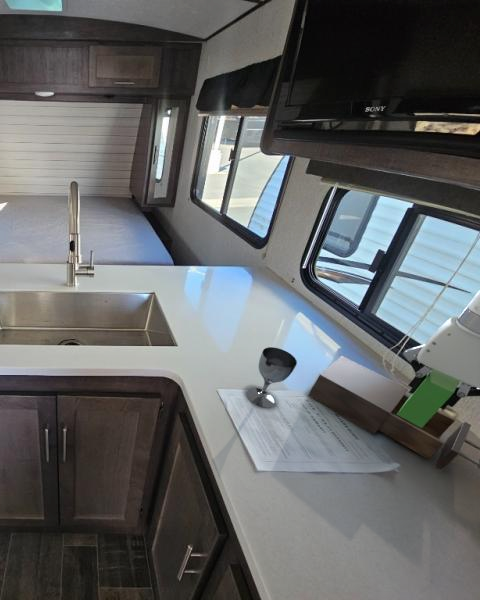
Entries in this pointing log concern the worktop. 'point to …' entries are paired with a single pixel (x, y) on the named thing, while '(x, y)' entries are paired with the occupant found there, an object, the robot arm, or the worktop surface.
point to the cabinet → (357, 393)
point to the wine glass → (271, 374)
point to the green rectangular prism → (428, 398)
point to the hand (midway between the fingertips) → (427, 397)
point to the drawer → (428, 435)
